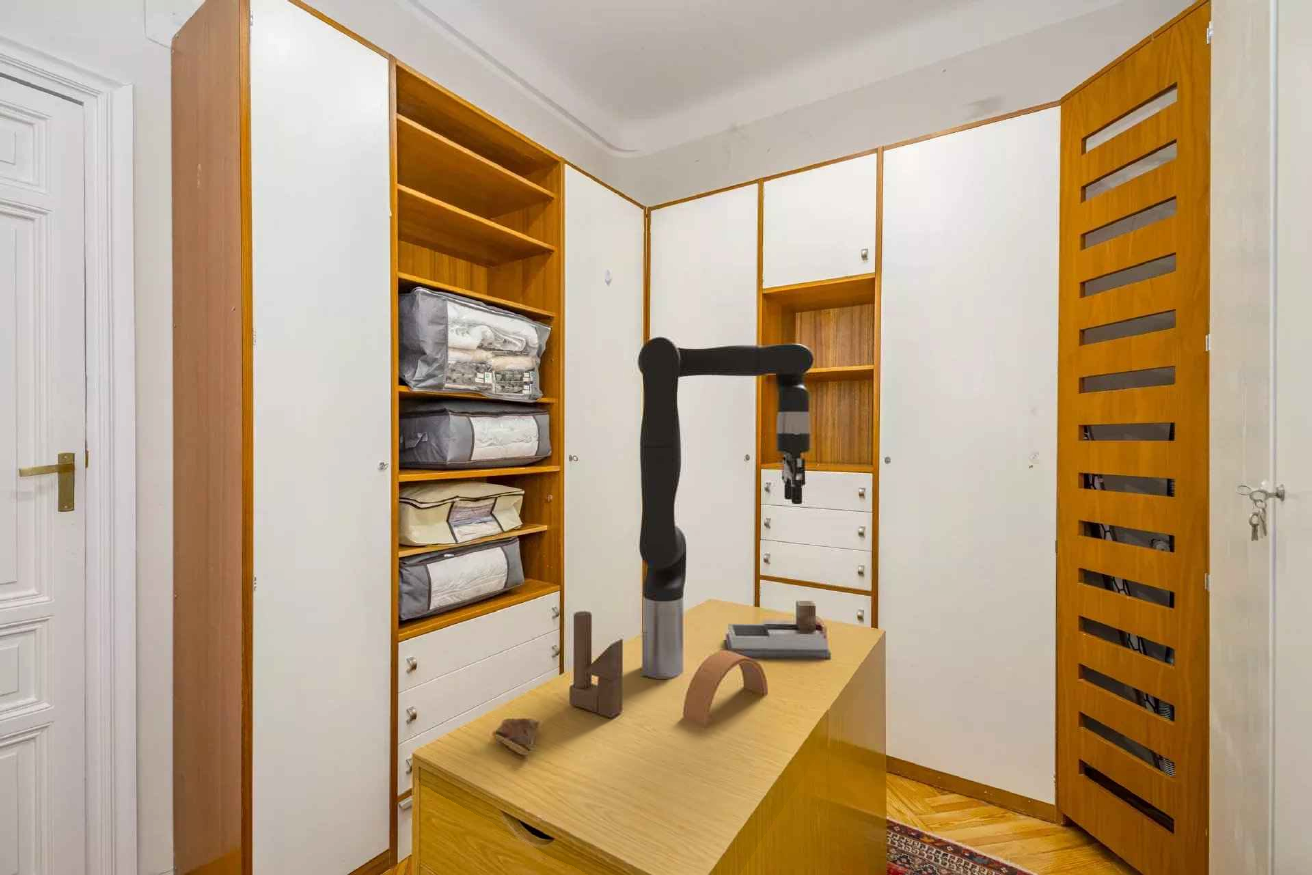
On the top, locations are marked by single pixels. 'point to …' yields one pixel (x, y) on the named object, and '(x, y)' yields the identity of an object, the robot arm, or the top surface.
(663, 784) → the top surface
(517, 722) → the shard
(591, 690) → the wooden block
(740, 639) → the track
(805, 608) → the headed peg
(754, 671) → the arch
